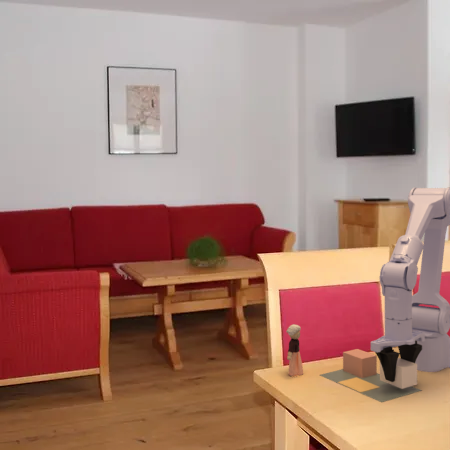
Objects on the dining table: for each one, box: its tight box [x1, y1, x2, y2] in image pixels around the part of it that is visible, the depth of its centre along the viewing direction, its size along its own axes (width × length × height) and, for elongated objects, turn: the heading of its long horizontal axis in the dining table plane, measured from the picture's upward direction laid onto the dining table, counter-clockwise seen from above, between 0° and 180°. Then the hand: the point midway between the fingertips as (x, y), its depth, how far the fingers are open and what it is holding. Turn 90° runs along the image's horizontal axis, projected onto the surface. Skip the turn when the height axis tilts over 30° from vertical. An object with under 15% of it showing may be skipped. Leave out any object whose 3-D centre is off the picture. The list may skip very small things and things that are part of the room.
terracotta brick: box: [342, 348, 378, 378], centre depth 139 cm, size 5×6×4 cm
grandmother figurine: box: [286, 324, 304, 378], centre depth 139 cm, size 8×4×13 cm, turn 168°
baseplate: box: [319, 368, 423, 403], centre depth 132 cm, size 12×20×1 cm, turn 30°
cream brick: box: [379, 357, 418, 389], centre depth 128 cm, size 5×6×4 cm
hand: (398, 378), depth 129 cm, fingers closed on cream brick, 5 cm apart
